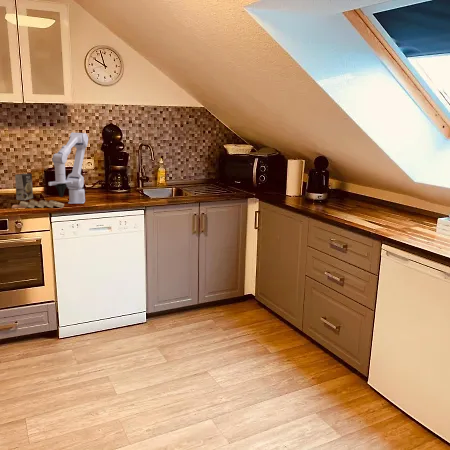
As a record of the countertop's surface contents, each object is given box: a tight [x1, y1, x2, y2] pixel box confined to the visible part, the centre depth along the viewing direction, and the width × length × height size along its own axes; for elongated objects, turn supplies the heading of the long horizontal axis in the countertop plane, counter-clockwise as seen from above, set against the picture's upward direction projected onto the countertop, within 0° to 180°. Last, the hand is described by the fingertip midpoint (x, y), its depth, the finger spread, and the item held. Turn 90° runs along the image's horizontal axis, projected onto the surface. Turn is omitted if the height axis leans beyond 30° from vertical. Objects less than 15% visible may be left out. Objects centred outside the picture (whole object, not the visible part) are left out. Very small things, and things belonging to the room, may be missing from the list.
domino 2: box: [29, 199, 45, 209], centre depth 282 cm, size 2×5×8 cm
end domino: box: [11, 204, 28, 209], centre depth 281 cm, size 2×5×8 cm
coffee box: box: [14, 173, 34, 201], centre depth 304 cm, size 9×6×16 cm
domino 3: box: [38, 199, 55, 209], centre depth 283 cm, size 2×5×8 cm
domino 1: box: [19, 200, 36, 209], centre depth 281 cm, size 2×5×8 cm
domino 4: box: [48, 199, 65, 209], centre depth 284 cm, size 2×5×8 cm
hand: (61, 196), depth 283 cm, fingers closed
